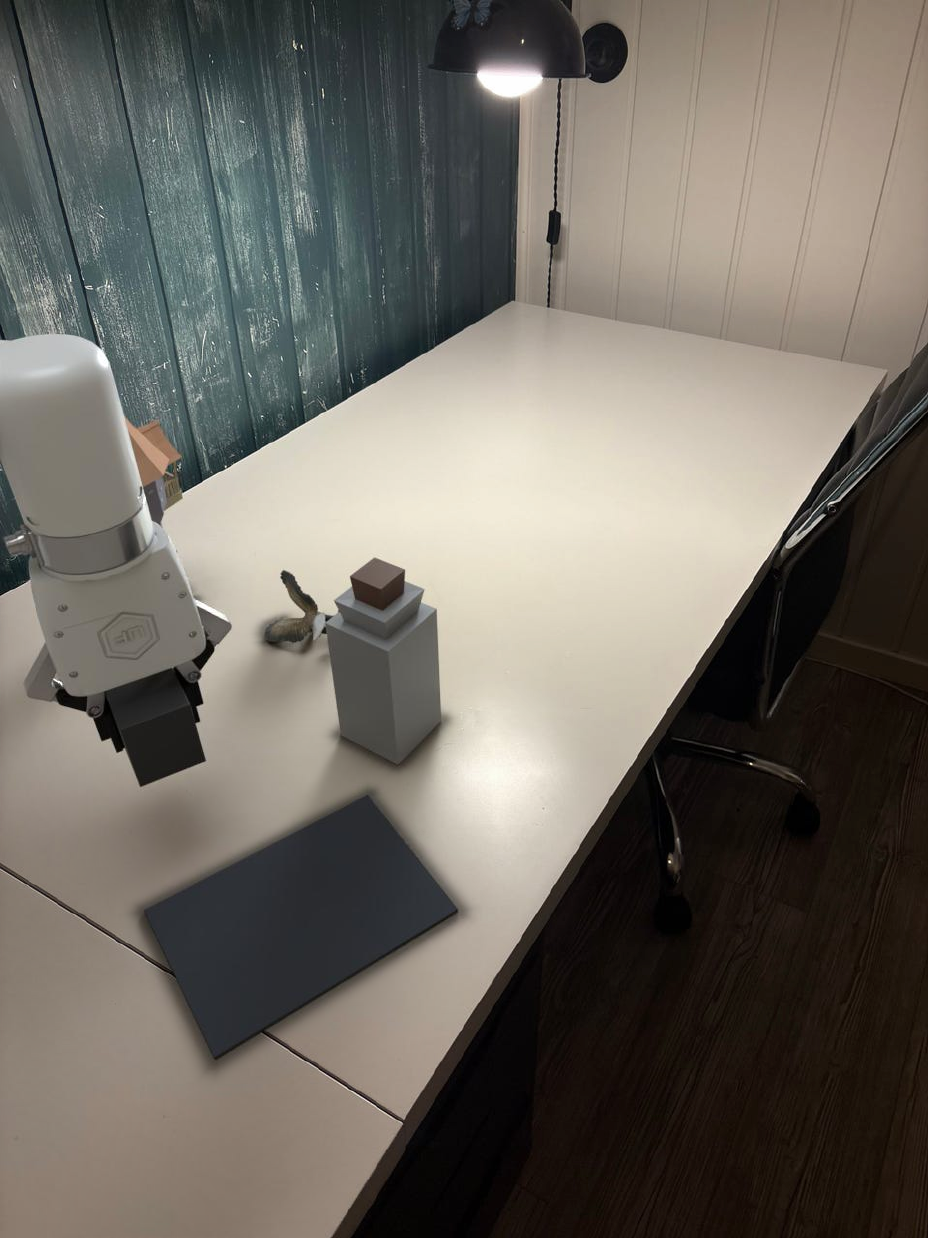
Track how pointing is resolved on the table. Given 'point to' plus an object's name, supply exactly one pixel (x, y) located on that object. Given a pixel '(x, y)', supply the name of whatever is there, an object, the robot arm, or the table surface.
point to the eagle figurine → (297, 627)
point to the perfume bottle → (385, 662)
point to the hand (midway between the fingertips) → (153, 724)
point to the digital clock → (156, 726)
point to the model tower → (155, 467)
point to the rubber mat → (294, 921)
